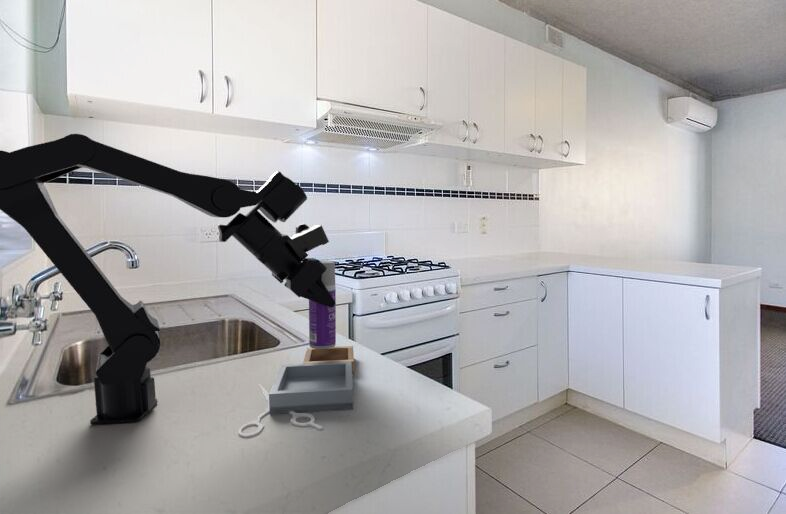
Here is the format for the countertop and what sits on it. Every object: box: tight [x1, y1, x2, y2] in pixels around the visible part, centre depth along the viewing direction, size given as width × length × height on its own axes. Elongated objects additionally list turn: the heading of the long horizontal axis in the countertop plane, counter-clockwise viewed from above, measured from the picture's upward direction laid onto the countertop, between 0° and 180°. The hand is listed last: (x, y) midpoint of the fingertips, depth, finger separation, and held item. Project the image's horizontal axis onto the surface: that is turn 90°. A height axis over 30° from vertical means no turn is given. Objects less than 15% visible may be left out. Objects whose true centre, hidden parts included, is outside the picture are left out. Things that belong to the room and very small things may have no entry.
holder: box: [302, 345, 355, 376], centre depth 80 cm, size 9×9×2 cm
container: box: [308, 260, 337, 349], centre depth 76 cm, size 5×5×15 cm
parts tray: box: [268, 362, 354, 415], centre depth 68 cm, size 12×12×3 cm
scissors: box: [238, 383, 323, 439], centre depth 65 cm, size 11×1×20 cm
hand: (329, 302), depth 76 cm, fingers closed on container, 5 cm apart
